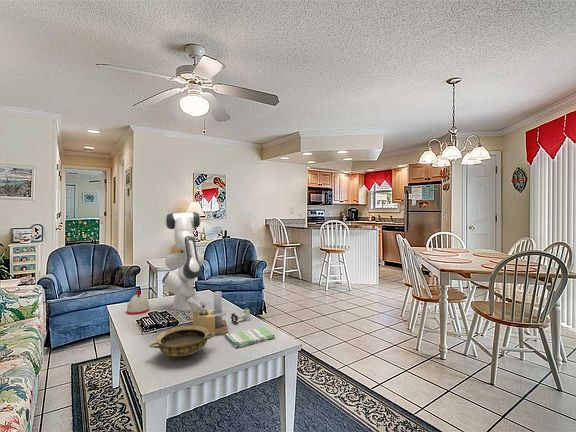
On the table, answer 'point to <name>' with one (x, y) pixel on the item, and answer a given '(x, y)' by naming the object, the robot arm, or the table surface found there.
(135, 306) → the kitchen timer
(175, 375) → the table surface
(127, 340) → the table surface
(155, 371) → the table surface
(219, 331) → the base board
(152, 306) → the table surface
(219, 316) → the square hole block
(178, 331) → the ceramic bowl
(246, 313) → the valve
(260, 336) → the dish towel
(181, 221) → the robot arm
